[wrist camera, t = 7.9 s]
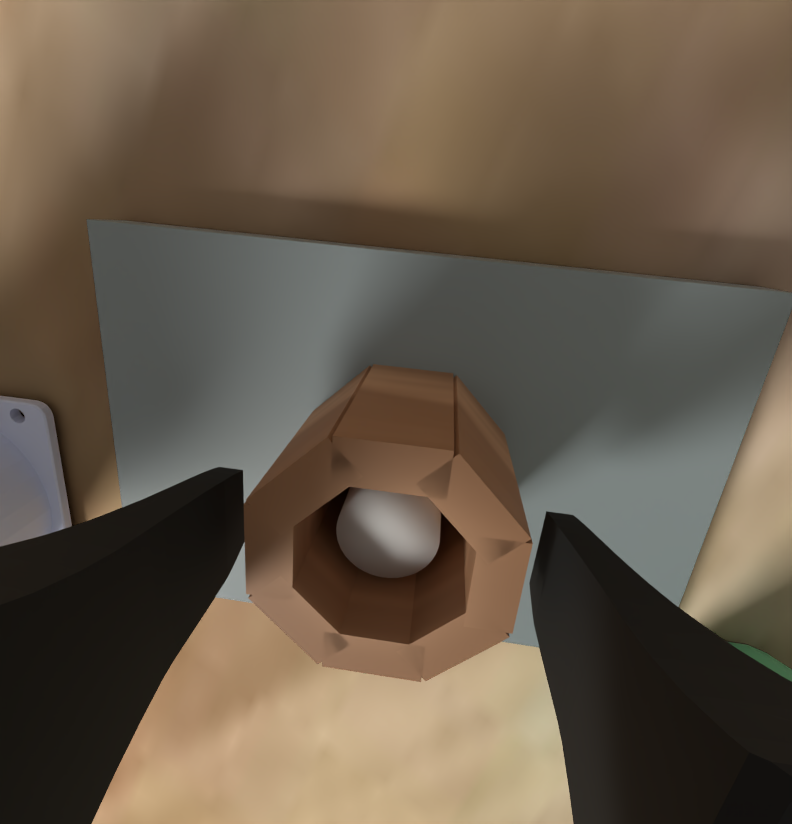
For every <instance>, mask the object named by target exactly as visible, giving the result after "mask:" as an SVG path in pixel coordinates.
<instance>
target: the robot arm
mask: <svg viewBox="0 0 792 824" xmlns="http://www.w3.org/2000/svg"><path fill="white" fill-rule="evenodd" d="M19 410H20V411H21V412H22V413H23V414H24V416H25V418H24V417H23V416H22V415H21V413H20V411H19ZM244 542H245V538H244V488H243V470H239V469H231V468H224V467H217V468H214V469H211V470H208V471H205V472H203V473H201V474H198V475H196V476H194V477H191V478H189V479H187V480H185V481H183V482H180V483H178V484H176V485H174V486H171V487H169V488H167V489H165V490H162V491H160V492H158V493H156V494H153V495H151V496H149V497H147V498H144V499H142V500H140V501H137V502H135V503H132V504H130V505H127V506H125V507H122V508H120V509H117V510H115V511H112V512H110V513H107V514H105V515H102V516H100V517H97V518H94V519H92V520H89V521H86V522H83V523H80V524H77V525H74V526H72V523H71V517H70V511H69V505H68V499H67V493H66V487H65V481H64V475H63V470H62V464H61V458H60V452H59V446H58V440H57V434H56V428H55V422H54V416H53V413H52V411H51V409H50V408H49V407H48V406H47V405H46V404H45V403H43V402H41V401H37V400H30V399H23V398H15V397H8V396H0V824H91V823H92V821H93V819H94V817H95V815H96V813H97V811H98V808H99V806H100V804H101V802H102V800H103V798H104V795H105V793H106V791H107V789H108V787H109V785H110V783H111V780H112V778H113V776H114V774H115V772H116V770H117V768H118V766H119V764H120V762H121V760H122V758H123V756H124V754H125V752H126V750H127V748H128V746H129V744H130V742H131V740H132V738H133V736H134V734H135V731H136V729H137V727H138V725H139V723H140V721H141V720H142V718H143V716H144V714H145V712H146V710H147V708H148V706H149V704H150V702H151V700H152V699H153V697H154V695H155V693H156V691H157V689H158V687H159V685H160V683H161V681H162V679H163V678H164V676H165V674H166V673H167V671H168V669H169V668H170V666H171V664H172V663H173V661H174V659H175V658H176V656H177V655H178V653H179V652H180V650H181V648H182V647H183V645H184V644H185V642H186V641H187V639H188V638H189V636H190V635H191V633H192V632H193V630H194V629H195V627H196V626H197V624H198V623H199V621H200V620H201V618H202V617H203V615H204V614H205V612H206V611H207V609H208V607H209V606H210V604H211V603H212V601H213V600H214V598H215V597H216V595H217V594H218V592H219V590H220V589H221V587H222V586H223V584H224V583H225V581H226V579H227V578H228V576H229V574H230V572H231V570H232V568H233V566H234V564H235V562H236V560H237V557H238V555H239V553H240V551H241V548H242V546H243V544H244ZM529 585H530V595H531V605H532V614H533V622H534V627H535V631H536V635H537V640H538V644H539V648H540V652H541V656H542V660H543V664H544V668H545V672H546V676H547V680H548V684H549V688H550V692H551V696H552V700H553V704H554V708H555V712H556V716H557V720H558V725H559V730H560V735H561V739H562V745H563V751H564V758H565V765H566V772H567V778H568V785H569V792H570V799H571V807H572V815H573V822H574V824H792V682H791V681H790V680H788V679H786V678H784V677H783V676H781V675H779V674H778V673H776V672H774V671H773V670H771V669H769V668H768V667H766V666H765V665H763V664H761V663H760V662H758V661H756V660H755V659H753V658H752V657H750V656H748V655H747V654H745V653H743V652H742V651H740V650H739V649H737V648H736V647H734V646H733V645H731V644H730V643H728V642H726V641H725V640H723V639H722V638H720V637H719V636H718V635H716V634H715V633H713V632H712V631H711V630H709V629H708V628H706V627H705V626H703V625H702V624H701V623H699V622H698V621H696V620H695V619H694V618H692V617H691V616H689V615H688V614H687V613H685V612H684V611H683V610H681V609H680V608H679V607H678V606H676V605H675V604H674V603H672V602H671V601H670V600H669V599H667V598H666V597H665V596H664V595H663V594H661V593H660V592H659V591H658V590H656V589H655V588H654V587H653V586H652V585H650V584H649V583H648V582H647V581H646V580H644V579H643V578H642V577H641V576H640V575H639V574H638V573H636V572H635V571H634V570H633V569H632V568H631V567H630V566H629V565H627V564H626V563H625V562H624V561H623V560H622V559H621V558H620V557H619V556H618V555H617V554H615V553H614V552H613V551H612V550H611V549H610V548H609V547H608V546H607V545H606V544H605V543H604V542H603V541H602V540H601V539H599V538H598V537H597V536H596V535H595V534H594V533H593V532H592V531H591V530H590V529H589V528H588V527H587V526H586V525H585V524H583V523H582V522H581V521H580V520H579V519H578V518H576V517H575V516H574V515H570V514H563V513H555V512H548V511H546V515H545V519H544V523H543V527H542V532H541V536H540V540H539V544H538V548H537V553H536V557H535V561H534V565H533V570H532V574H531V578H530V582H529Z"/></svg>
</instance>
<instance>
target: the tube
mask: <svg viewBox="0 0 792 824" xmlns="http://www.w3.org/2000/svg"><path fill="white" fill-rule="evenodd" d="M350 487H355V488H363V489H370V490H378V491H385V492H393V493H401V494H408V495H416V496H423V497H428V498H429V499H430V500H431V501H432V502H433V503H434V504H435V506H436V507H437V508H438V509H439V510H440V511H441V525H440V543H439V548H438V550H437V553H436V555H435V556H434V558H433V560H432V561H431V562H430V563H429V564H428V565H427V566H426V567H425V568H423V569H422V570H420V571H419V572H417V573H415V574H412V575H409V576H406V577H400V578H384V577H378V576H375V575H372V574H369V573H367V572H364V571H363V570H361V569H359V568H358V567H356V566H355V565H354V564H353V563H352V562H350V561H349V560H348V558H347V557H346V556H345V555H344V553H343V552H342V550H341V548H340V546H339V543H338V540H337V534H336V526H337V521H338V517H339V515H340V512H341V510H342V507H343V504H344V502H345V499H346V497H347V494H348V492H349V489H350ZM244 538H245V575H246V594H249V595H250V596H249V597H248V599H249V600H251V601H252V602H253V603H254V604H255V605H256V606H257V607H258V608H259V609H260V610H261V611H262V612H263V613H264V614H265V615H266V616H267V617H268V618H270V619H271V620H272V621H273V622H274V623H275V624H276V625H277V626H278V627H279V628H280V629H281V630H282V631H283V632H284V633H285V634H286V635H287V636H288V637H290V638H291V639H292V640H293V641H294V642H295V643H296V644H297V645H298V646H299V647H300V648H301V649H302V650H303V651H304V652H305V653H306V654H307V655H309V656H310V657H311V658H312V659H313V660H314V661H315V662H316V663H317V664H319V663H320V662H322V666H323V667H330V668H336V669H342V670H349V671H355V672H361V673H368V674H374V675H380V676H387V677H393V678H400V679H406V680H412V681H419V682H421V677H422V678H423V679H424V680H425V681H427V680H429V679H431V678H433V677H435V676H436V675H438V674H440V673H442V672H444V671H446V670H448V669H450V668H452V667H454V666H456V665H458V664H459V663H461V662H463V661H465V660H467V659H469V658H471V657H473V656H475V655H477V654H479V653H480V652H482V651H484V650H486V649H488V648H490V647H492V646H494V645H496V644H498V643H500V642H502V641H503V640H505V639H507V638H509V633H511V634H513V629H514V625H515V621H516V616H517V612H518V607H519V603H520V598H521V594H522V589H523V585H524V581H525V576H526V572H527V567H528V563H529V558H530V554H531V549H532V545H533V543H532V539H531V535H530V531H529V527H528V523H527V519H526V515H525V512H524V508H523V504H522V500H521V496H520V492H519V488H518V484H517V480H516V476H515V472H514V469H513V465H512V461H511V457H510V453H509V449H508V445H507V441H506V437H505V434H504V433H503V432H502V430H501V429H500V428H499V427H498V425H497V424H496V423H495V422H494V420H493V419H492V418H491V417H490V416H489V414H488V413H487V412H486V411H485V409H484V408H483V407H482V406H481V404H480V403H479V402H478V401H477V399H476V398H475V397H474V396H473V395H472V393H471V392H470V391H469V390H468V388H467V387H466V386H465V385H464V383H463V382H462V381H461V380H460V379H459V377H458V376H455V377H454V378H453V373H446V372H437V371H429V370H420V369H411V368H402V367H394V366H385V365H376V364H373V366H372V367H371V366H368V367H367V368H366V369H365V370H363V371H362V372H361V373H360V374H358V375H357V376H356V377H355V378H353V379H352V380H351V381H350V382H348V383H347V384H346V385H345V386H343V387H342V388H341V389H340V390H339V391H337V392H336V393H335V394H334V395H332V396H331V397H330V398H329V399H327V400H326V401H325V402H324V403H322V404H321V405H320V406H319V407H317V408H316V409H315V410H314V411H313V412H312V413H311V414H310V416H309V417H308V418H307V420H306V421H305V422H304V424H303V425H302V426H301V428H300V429H299V430H298V432H297V433H296V434H295V436H294V437H293V438H292V439H291V441H290V442H289V443H288V445H287V446H286V447H285V449H284V450H283V451H282V453H281V454H280V455H279V457H278V458H277V459H276V461H275V462H274V463H273V465H272V466H271V467H270V469H269V470H268V471H267V473H266V474H265V475H264V476H263V478H262V479H261V480H260V482H259V483H258V484H257V486H256V487H255V488H254V490H253V491H252V492H251V494H250V495H249V496H248V498H247V499H246V502H245V503H244Z"/></svg>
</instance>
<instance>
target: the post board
mask: <svg viewBox="0 0 792 824" xmlns="http://www.w3.org/2000/svg"><path fill="white" fill-rule="evenodd" d="M87 227H88V235H89V243H90V251H91V259H92V267H93V275H94V284H95V292H96V300H97V308H98V316H99V324H100V332H101V340H102V348H103V356H104V364H105V373H106V381H107V389H108V397H109V405H110V413H111V421H112V429H113V437H114V445H115V453H116V462H117V470H118V478H119V486H120V494H121V502H122V507H125V506H127V505H130V504H132V503H135V502H137V501H140V500H142V499H144V498H147V497H149V496H151V495H153V494H156V493H158V492H160V491H162V490H165V489H167V488H169V487H171V486H174V485H176V484H178V483H180V482H183V481H185V480H187V479H189V478H191V477H194V476H196V475H198V474H201V473H203V472H205V471H208V470H211V469H214V468H217V467H224V468H231V469H239V470H243V488H244V503H245V502H246V499H247V498H248V496H249V495H250V494H251V492H252V491H253V490H254V488H255V487H256V486H257V484H258V483H259V482H260V480H261V479H262V478H263V476H264V475H265V474H266V473H267V471H268V470H269V469H270V467H271V466H272V465H273V463H274V462H275V461H276V459H277V458H278V457H279V455H280V454H281V453H282V451H283V450H284V449H285V447H286V446H287V445H288V443H289V442H290V441H291V439H292V438H293V437H294V436H295V434H296V433H297V432H298V430H299V429H300V428H301V426H302V425H303V424H304V422H305V421H306V420H307V418H308V417H309V416H310V414H311V413H312V412H313V411H314V410H315V409H316V408H317V407H319V406H320V405H321V404H322V403H324V402H325V401H326V400H327V399H329V398H330V397H331V396H332V395H334V394H335V393H336V392H337V391H339V390H340V389H341V388H342V387H343V386H345V385H346V384H347V383H348V382H350V381H351V380H352V379H353V378H355V377H356V376H357V375H358V374H360V373H361V372H362V371H363V370H365V369H366V368H367V367H368V366H371V367H372V366H373V364H376V365H385V366H394V367H402V368H411V369H420V370H429V371H437V372H446V373H453V378H454V377H455V376H458V377H459V379H460V380H461V381H462V382H463V383H464V385H465V386H466V387H467V388H468V390H469V391H470V392H471V393H472V395H473V396H474V397H475V398H476V399H477V401H478V402H479V403H480V404H481V406H482V407H483V408H484V409H485V411H486V412H487V413H488V414H489V416H490V417H491V418H492V419H493V420H494V422H495V423H496V424H497V425H498V427H499V428H500V429H501V430H502V432H503V433H504V434H505V437H506V441H507V445H508V449H509V453H510V457H511V461H512V465H513V469H514V472H515V476H516V480H517V484H518V488H519V492H520V496H521V500H522V504H523V508H524V512H525V515H526V519H527V523H528V527H529V531H530V535H531V539H532V543H533V545H532V549H531V554H530V558H529V563H528V567H527V572H526V576H525V581H524V585H523V589H522V594H521V598H520V603H519V607H518V612H517V616H516V621H515V625H514V629H513V634H511V633H509V638H507V639H505V640H503V641H502V642H508V643H514V644H521V645H527V646H534V647H539V644H538V640H537V635H536V631H535V627H534V622H533V614H532V605H531V595H530V585H529V582H530V578H531V574H532V570H533V565H534V561H535V557H536V553H537V548H538V544H539V540H540V536H541V532H542V527H543V523H544V519H545V515H546V511H548V512H555V513H563V514H570V515H574V516H575V517H576V518H578V519H579V520H580V521H581V522H582V523H583V524H585V525H586V526H587V527H588V528H589V529H590V530H591V531H592V532H593V533H594V534H595V535H596V536H597V537H598V538H599V539H601V540H602V541H603V542H604V543H605V544H606V545H607V546H608V547H609V548H610V549H611V550H612V551H613V552H614V553H615V554H617V555H618V556H619V557H620V558H621V559H622V560H623V561H624V562H625V563H626V564H627V565H629V566H630V567H631V568H632V569H633V570H634V571H635V572H636V573H638V574H639V575H640V576H641V577H642V578H643V579H644V580H646V581H647V582H648V583H649V584H650V585H652V586H653V587H654V588H655V589H656V590H658V591H659V592H660V593H661V594H663V595H664V596H665V597H666V598H667V599H669V600H670V601H671V602H672V603H674V604H675V605H676V606H678V607H679V605H680V602H681V599H682V597H683V594H684V591H685V589H686V586H687V584H688V581H689V578H690V576H691V573H692V570H693V568H694V565H695V563H696V560H697V557H698V555H699V552H700V549H701V547H702V544H703V541H704V539H705V536H706V534H707V531H708V528H709V526H710V523H711V520H712V518H713V515H714V513H715V510H716V507H717V505H718V502H719V499H720V497H721V494H722V492H723V489H724V486H725V484H726V481H727V478H728V476H729V473H730V471H731V468H732V465H733V463H734V460H735V457H736V455H737V452H738V450H739V447H740V444H741V442H742V439H743V436H744V434H745V431H746V429H747V426H748V423H749V421H750V418H751V415H752V413H753V410H754V408H755V405H756V402H757V400H758V397H759V394H760V392H761V389H762V387H763V384H764V381H765V379H766V376H767V373H768V371H769V368H770V366H771V363H772V360H773V358H774V355H775V352H776V350H777V347H778V345H779V342H780V339H781V337H782V334H783V331H784V329H785V326H786V324H787V321H788V318H789V316H790V313H791V310H792V292H786V291H781V290H776V289H771V288H765V287H759V286H750V285H740V284H730V283H721V282H711V281H702V280H692V279H682V278H673V277H663V276H654V275H644V274H634V273H625V272H615V271H606V270H596V269H587V268H577V267H567V266H558V265H548V264H539V263H529V262H519V261H510V260H500V259H491V258H481V257H471V256H462V255H452V254H443V253H433V252H423V251H414V250H404V249H395V248H385V247H375V246H366V245H356V244H347V243H337V242H328V241H318V240H308V239H299V238H289V237H280V236H270V235H260V234H251V233H241V232H232V231H222V230H212V229H203V228H193V227H184V226H174V225H164V224H155V223H145V222H136V221H126V220H97V219H87ZM440 525H441V511H440V510H439V509H438V508H437V507H436V506H435V504H434V503H433V502H432V501H431V500H430V499H429V498H428V497H423V496H416V495H408V494H401V493H393V492H385V491H378V490H370V489H363V488H355V487H350V489H349V492H348V494H347V497H346V499H345V502H344V504H343V507H342V510H341V512H340V515H339V517H338V521H337V526H336V534H337V540H338V543H339V546H340V548H341V550H342V552H343V553H344V555H345V556H346V557H347V558H348V560H349V561H350V562H352V563H353V564H354V565H355V566H356V567H358V568H359V569H361V570H363V571H364V572H367V573H369V574H372V575H375V576H378V577H384V578H400V577H406V576H409V575H412V574H415V573H417V572H419V571H420V570H422V569H423V568H425V567H426V566H427V565H428V564H429V563H430V562H431V561H432V560H433V558H434V556H435V555H436V553H437V550H438V548H439V543H440ZM249 596H250V595H249V594H246V575H245V542H244V544H243V546H242V548H241V551H240V553H239V555H238V557H237V560H236V562H235V564H234V566H233V568H232V570H231V572H230V574H229V576H228V578H227V579H226V581H225V583H224V584H223V586H222V587H221V589H220V590H219V592H218V594H217V595H216V597H217V598H224V599H230V600H237V601H243V602H250V603H253V602H252V601H251V600H249V599H248V597H249Z"/></svg>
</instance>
